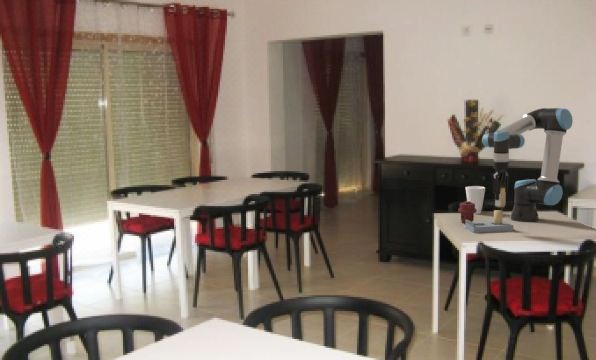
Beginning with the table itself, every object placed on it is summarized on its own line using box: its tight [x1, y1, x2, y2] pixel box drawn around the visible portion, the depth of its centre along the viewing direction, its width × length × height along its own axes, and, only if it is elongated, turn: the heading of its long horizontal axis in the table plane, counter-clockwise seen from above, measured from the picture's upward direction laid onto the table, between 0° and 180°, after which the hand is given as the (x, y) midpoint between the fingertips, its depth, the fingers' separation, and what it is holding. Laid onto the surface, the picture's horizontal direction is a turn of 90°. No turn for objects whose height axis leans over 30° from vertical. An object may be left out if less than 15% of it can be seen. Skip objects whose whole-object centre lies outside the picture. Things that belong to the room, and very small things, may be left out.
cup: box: [465, 185, 486, 215], centre depth 386 cm, size 12×12×16 cm
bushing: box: [495, 187, 506, 208], centre depth 328 cm, size 4×4×10 cm
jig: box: [464, 209, 514, 234], centre depth 338 cm, size 22×12×10 cm, turn 96°
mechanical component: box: [457, 200, 476, 224], centre depth 356 cm, size 12×10×10 cm
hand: (500, 205), depth 329 cm, fingers closed on bushing, 4 cm apart
